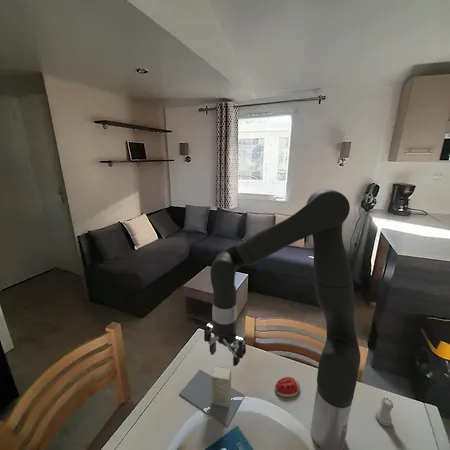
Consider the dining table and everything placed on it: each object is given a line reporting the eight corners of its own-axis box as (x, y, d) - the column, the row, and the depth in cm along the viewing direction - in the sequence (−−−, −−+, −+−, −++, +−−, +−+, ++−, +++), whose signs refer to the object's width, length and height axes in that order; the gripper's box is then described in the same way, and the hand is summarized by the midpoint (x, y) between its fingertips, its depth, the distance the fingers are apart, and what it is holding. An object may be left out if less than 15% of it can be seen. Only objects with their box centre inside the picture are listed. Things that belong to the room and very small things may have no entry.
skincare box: (231, 396, 83) (232, 368, 80) (228, 408, 79) (229, 379, 76) (214, 392, 84) (214, 364, 81) (210, 404, 80) (210, 376, 77)
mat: (244, 395, 83) (244, 395, 83) (227, 427, 74) (227, 426, 73) (199, 370, 93) (199, 369, 93) (179, 394, 84) (179, 393, 83)
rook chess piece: (375, 409, 79) (380, 391, 77) (391, 418, 77) (396, 400, 75) (373, 420, 76) (378, 401, 74) (390, 430, 73) (395, 411, 71)
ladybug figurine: (304, 393, 85) (305, 386, 84) (280, 402, 82) (281, 394, 81) (293, 378, 91) (294, 370, 90) (270, 385, 88) (271, 377, 87)
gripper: (250, 316, 71) (248, 359, 76) (212, 302, 79) (212, 342, 83) (239, 331, 65) (237, 377, 69) (198, 314, 72) (199, 357, 77)
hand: (224, 358), depth 76 cm, fingers open, 8 cm apart
